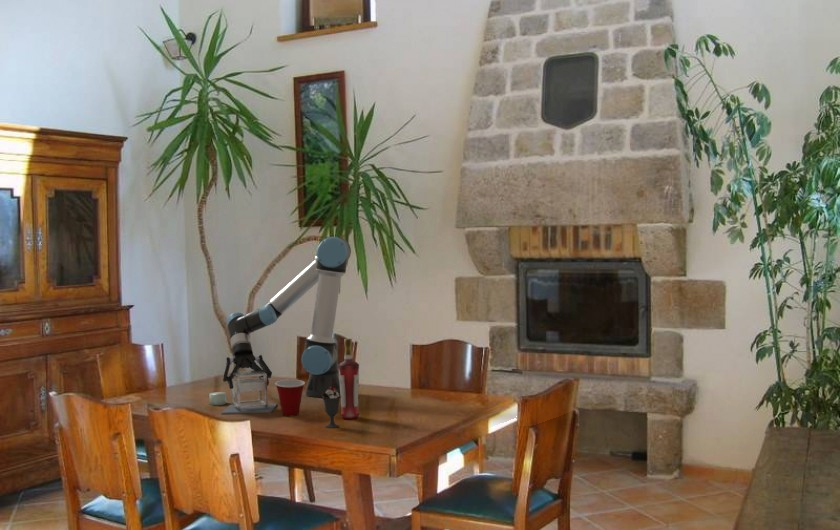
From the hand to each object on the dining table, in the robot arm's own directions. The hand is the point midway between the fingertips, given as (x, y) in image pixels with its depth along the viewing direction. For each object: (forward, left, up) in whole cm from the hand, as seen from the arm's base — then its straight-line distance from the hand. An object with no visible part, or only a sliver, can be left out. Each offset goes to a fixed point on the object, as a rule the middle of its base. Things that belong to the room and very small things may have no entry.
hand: (251, 393), depth 338 cm
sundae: (-33, +32, -7) cm, 47 cm away
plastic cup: (-16, +9, -7) cm, 20 cm away
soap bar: (+16, -17, -6) cm, 24 cm away
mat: (+1, -3, -6) cm, 7 cm away
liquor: (-38, +18, -7) cm, 43 cm away
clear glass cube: (+1, -3, -5) cm, 5 cm away
